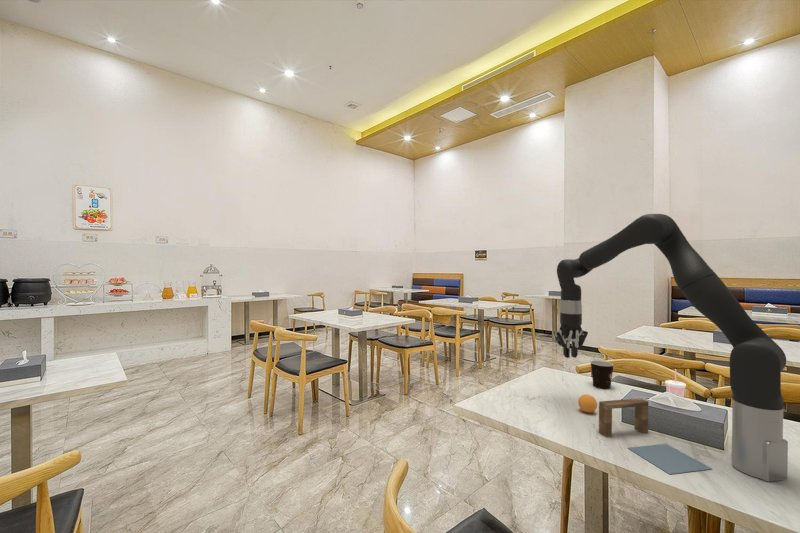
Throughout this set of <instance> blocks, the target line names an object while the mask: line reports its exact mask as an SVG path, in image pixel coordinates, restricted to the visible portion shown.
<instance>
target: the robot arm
mask: <svg viewBox="0 0 800 533" xmlns="http://www.w3.org/2000/svg"><path fill="white" fill-rule="evenodd" d="M653 244H654V246H656V247H657V248H658V250H660V252H661V253H662V254H663V256H664V257H665V258H666V259H667V261H668V264H669V266H670V269H671V272H672V276H673V278H674V282H675V284H676V286H677V287H678V289H679V290H680V291H681V293H682V294H683V296H684V298H686V300H688V301H689V303H690V304H691V305H692V306H693V308H695V309H696V310H697V311H698V312H699V313H700V314H702V315H703V316H704V317H705V318H706V319H708V320H709V321H710V322H712V324H714V325H715V326H716V327H717V328H718V329H719V330H720V331H721V333H722V334H723V335H724V336H725V337H726V339H727V341H729V343H730V344H731V346H732V350H730V351H731V352H730V354H729V386H730V390H731V393H732V395H731V396H732V404H731V406H732V408H731V409H732V411H731V412H732V414H731V465H732V467H733V468H735V469H736V470H738V471H739V472H741V473H744V474H746V475H748V476H751V477H754V478H758V479H760V480H763V481H765V482H768V483H769V482H770V483H772V482H779V481H785V480H788V469H789V466H788V463H789V462H788V460H789V459H788V458H789V457H788V454H789V452H788V451H789V450H788V449H789V442H788V440H787V439H784V435H783V434H784V397H783V396H782V391H781V389H782V388H781V387H782V384H781V383H782V382H781V381H782V380H781V376H782V370H784V368H785V367H786V364H787V356H786V354H785V352H784V350H783V349H782V347H780V345H779V344H777V342H776V341H774V340H773V339H772V337H770V336H769V335H768V334H767V333H766V332H765V331H764V330H763V329H762V328H761V326H759V325H758V324H757V323H756V322H755V321H754V320H753V319H752V318H751V316H750V315H749V314H748V312H746V310H745V309H744V307H743V306H742V305H741V303H740V302H739V300H738V299H737V298H736V297H735V295H734V294H733V293H732V292H731V290H730V289H729V288H728V286H727V285H726V284H725V283H724V282H723V280H722V279H721V278H720V277H719V276H718V274H717V273H716V272H715V271H714V270H713V269H712V267H710V266H709V264H708V263H707V262H706V261H705V259H704V258H703V257H702V256H701V255H700V254H699V253H698V251H696V250H695V248H694V247H693V246H692V245H691V244H690V242H689V241H688V240H687V238H686V236H685V235H684V233H683V231H682V230H681V228H680V227H679V225H678V224H677V223H676V221H675V220H674V219H673V218H672V217H670V216H668V215H667V214H663V213H648V214H647V213H646V214H643V215H640V216H639V217H637V218H636V219H634V220H633V221H632V222H631V223H630V224H628V225H627V226H625V227H624V228H622V229H621V230H620V231H619V232H617V233H615V234H614V235H612V236H611V237H609V238H607V239H606V240H604V241H601V242H599V243H597V244H596V245H594V246H592V247H590V248H588V249H586V250H584V251H582V252H581V253H580V255H579V256H578V257H579V258H578V257H577V258H576V259H565V258H564V259H561V261H559V262H558V264H557V267H556V275H557V279H558V283H559V286H560V302H559V303H560V305H559V310H560V311H559V323H560V327H559V329H558V330H557V331H556V330H554V331H553V335H554V338H555V339H556V342H557V344H558V345H559V346H561V347H563V348H562V350H563V356H564V357H565V358H567V359H569V358H570V357H571V358H577V357H578V353H579V352H578V348H579V347H582V346H584V343H585V340H586V338H587V336H588V334H589V333H588V331H587V330H583V329H582V327H581V326H582V324H583V305H582V288H581V286H580V285H579V284H576V283H575V279H578V278H581V277H584V276H586V275H587V274H589V273H590V272H591V271H593V269H596V268H598V267H600V266H603V265H605V264H607V263H609V262H611V261H612V260H614V259H615V258H617V257H618V256H619V255H621V254H622V253H625V252H626V251H628V250H630V249H633V248H636V247H640V246H643V245H653ZM570 344H571V345H570ZM570 346H571V348H570Z"/></svg>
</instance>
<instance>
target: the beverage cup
mask: <svg viewBox="0 0 800 533" xmlns="http://www.w3.org/2000/svg"><path fill="white" fill-rule="evenodd" d="M664 381H665V387H666V393H667V392H670V393H673V394H675V395H678V396H680V397H683V398H684V399H685V395H686V394H685V393H686V387H687V384H686V383H684V382H682V381H678V380H677V369H676V368H674V379H672V380H670V379H668V380H664Z"/></svg>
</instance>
